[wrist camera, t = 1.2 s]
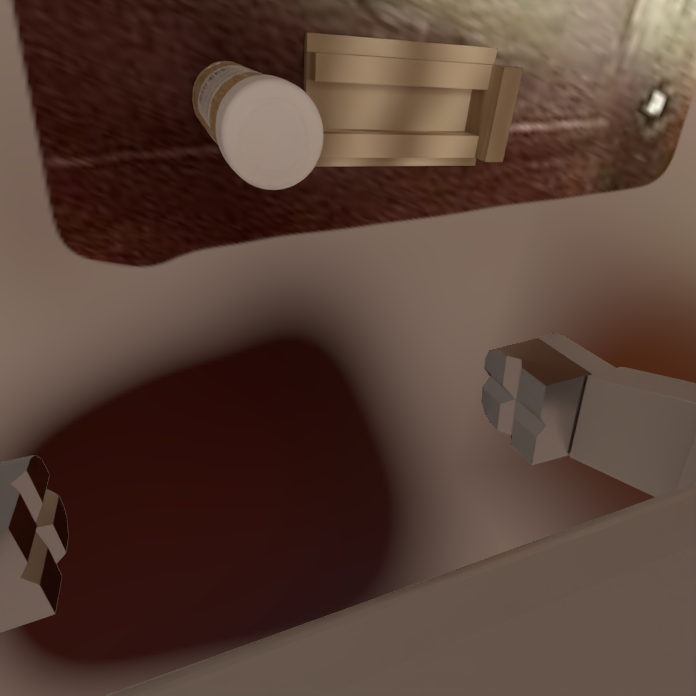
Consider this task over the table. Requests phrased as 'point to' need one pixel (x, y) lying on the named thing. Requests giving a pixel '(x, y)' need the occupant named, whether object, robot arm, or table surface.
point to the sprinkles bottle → (259, 124)
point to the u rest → (408, 101)
